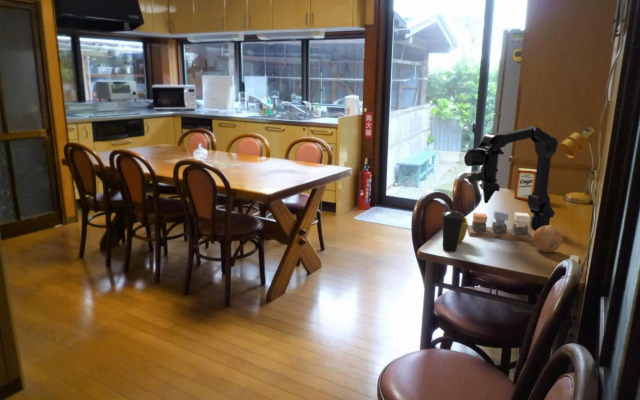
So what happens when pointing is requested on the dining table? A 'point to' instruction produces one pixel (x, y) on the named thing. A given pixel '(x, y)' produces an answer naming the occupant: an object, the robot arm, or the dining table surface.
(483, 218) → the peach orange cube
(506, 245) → the dining table surface
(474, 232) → the walnut button board
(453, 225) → the drinking cup
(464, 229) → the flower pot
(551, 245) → the onion
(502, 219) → the slate button
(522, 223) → the cream button
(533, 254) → the dining table surface
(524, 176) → the baking soda box
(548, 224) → the robot arm
